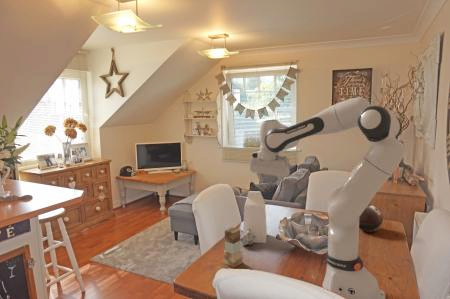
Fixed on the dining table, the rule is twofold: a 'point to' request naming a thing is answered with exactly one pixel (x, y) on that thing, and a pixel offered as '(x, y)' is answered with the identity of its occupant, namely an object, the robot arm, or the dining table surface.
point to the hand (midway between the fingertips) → (269, 183)
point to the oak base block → (233, 258)
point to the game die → (246, 237)
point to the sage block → (233, 247)
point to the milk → (255, 216)
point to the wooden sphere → (370, 219)
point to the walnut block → (232, 235)
